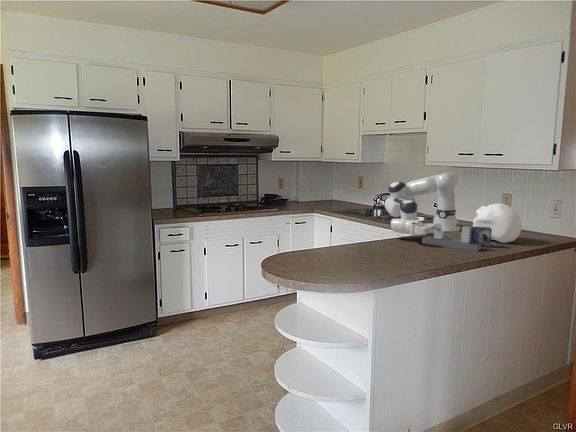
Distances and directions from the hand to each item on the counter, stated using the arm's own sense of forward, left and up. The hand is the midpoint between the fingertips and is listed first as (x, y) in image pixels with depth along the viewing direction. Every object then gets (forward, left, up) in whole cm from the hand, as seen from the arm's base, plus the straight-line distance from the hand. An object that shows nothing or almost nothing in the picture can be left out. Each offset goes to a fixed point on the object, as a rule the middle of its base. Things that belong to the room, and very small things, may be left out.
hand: (440, 230), depth 234 cm
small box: (-12, +18, -9) cm, 23 cm away
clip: (0, -1, -8) cm, 9 cm away
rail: (0, +6, -8) cm, 11 cm away
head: (-34, +20, -9) cm, 40 cm away
